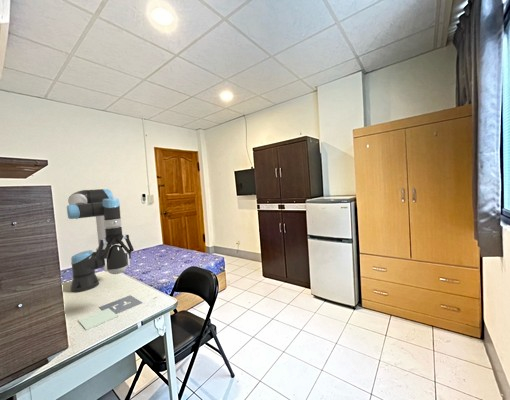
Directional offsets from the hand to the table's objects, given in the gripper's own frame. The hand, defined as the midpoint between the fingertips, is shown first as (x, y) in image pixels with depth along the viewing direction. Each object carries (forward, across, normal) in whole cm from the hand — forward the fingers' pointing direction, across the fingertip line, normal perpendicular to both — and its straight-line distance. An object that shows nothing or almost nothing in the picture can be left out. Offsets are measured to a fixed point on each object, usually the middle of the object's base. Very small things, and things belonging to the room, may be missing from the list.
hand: (117, 267), depth 122 cm
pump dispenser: (+3, 0, 0) cm, 3 cm away
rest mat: (+21, -12, -5) cm, 24 cm away
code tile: (+21, 0, 0) cm, 21 cm away
